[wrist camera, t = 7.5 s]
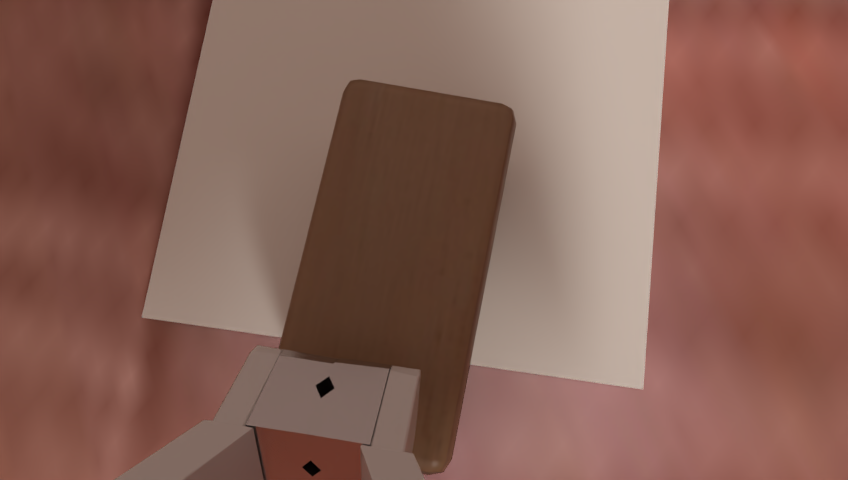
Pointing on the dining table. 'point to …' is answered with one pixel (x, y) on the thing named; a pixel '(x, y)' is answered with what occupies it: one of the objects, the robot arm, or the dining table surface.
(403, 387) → the robot arm
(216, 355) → the dining table surface
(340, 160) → the wooden block
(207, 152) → the plate
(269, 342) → the dining table surface
